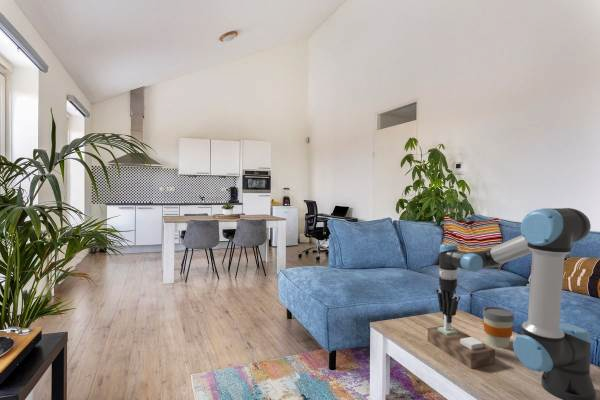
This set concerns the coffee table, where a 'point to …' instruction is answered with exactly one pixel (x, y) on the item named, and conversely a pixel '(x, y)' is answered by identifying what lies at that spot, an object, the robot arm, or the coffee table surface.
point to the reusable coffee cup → (498, 326)
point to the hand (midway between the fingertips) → (447, 328)
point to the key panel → (461, 348)
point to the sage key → (447, 331)
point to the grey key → (471, 343)
